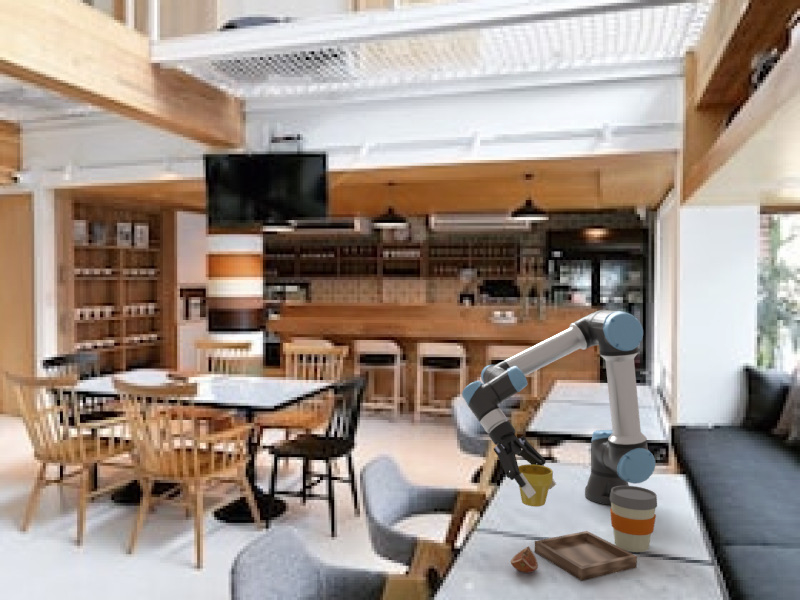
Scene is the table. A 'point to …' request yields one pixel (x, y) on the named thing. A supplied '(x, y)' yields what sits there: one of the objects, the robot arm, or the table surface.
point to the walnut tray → (585, 555)
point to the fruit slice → (525, 561)
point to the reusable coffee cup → (632, 517)
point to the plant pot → (536, 483)
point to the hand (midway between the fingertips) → (542, 491)
